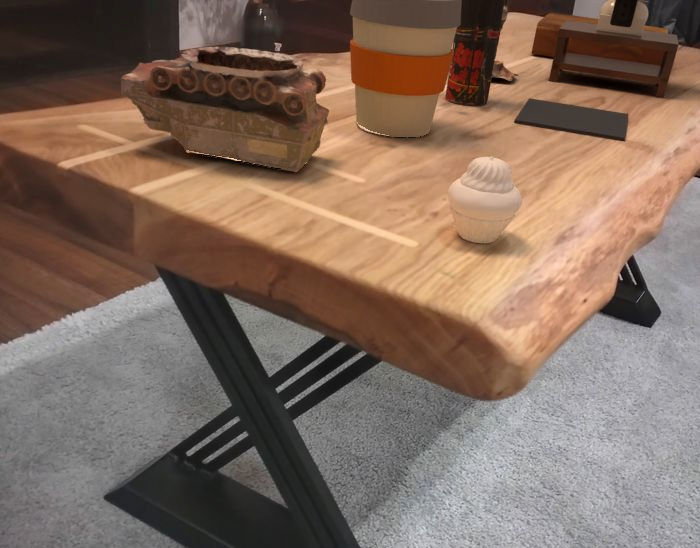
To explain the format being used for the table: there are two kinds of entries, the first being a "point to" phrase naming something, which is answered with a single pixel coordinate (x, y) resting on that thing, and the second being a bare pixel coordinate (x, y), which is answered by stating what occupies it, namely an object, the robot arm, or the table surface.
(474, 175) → the muffin
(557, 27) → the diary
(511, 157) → the table surface
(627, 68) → the rack
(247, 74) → the toy armored vehicle
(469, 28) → the deodorant
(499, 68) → the plant with pod
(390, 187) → the table surface
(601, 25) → the cream arch-topped block
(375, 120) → the reusable coffee cup
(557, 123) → the mat
